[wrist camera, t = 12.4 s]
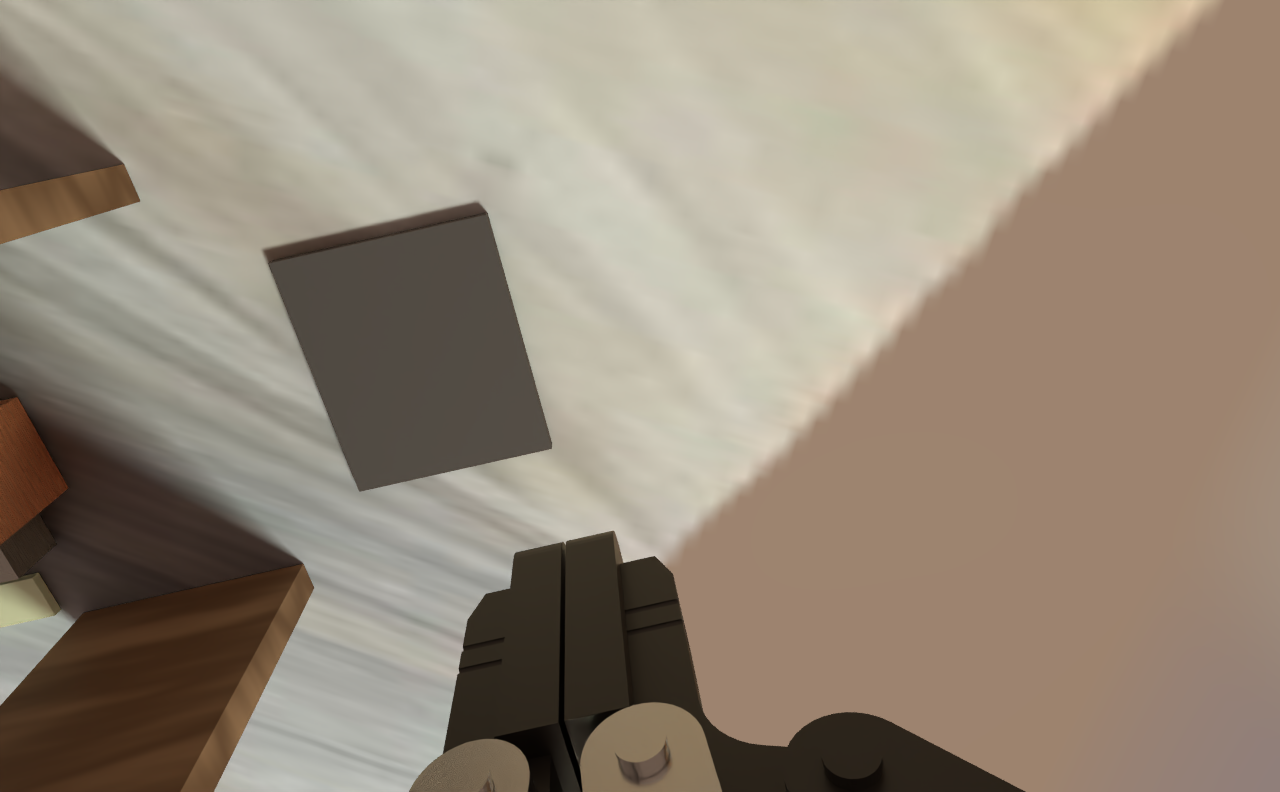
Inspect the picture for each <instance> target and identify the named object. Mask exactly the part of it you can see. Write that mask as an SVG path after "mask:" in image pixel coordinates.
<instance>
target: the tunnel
mask: <svg viewBox="0 0 1280 792" xmlns="http://www.w3.org/2000/svg"><path fill="white" fill-rule="evenodd" d="M137 202H140V199H139V197H138V195H137V192H136V190H135V188H134V186H133V183H132V181H131V179H130V177H129V175H128V172H127V170H126V168H125V166H124V164H123V165H118V166H113V167H108V168H104V169H99V170H94V171H89V172H85V173H80V174H75V175H70V176H66V177H61V178H56V179H51V180H47V181H42V182H37V183H32V184H28V185H23V186H18V187H13V188H9V189H4V190H0V244H2V243H5V242H9V241H12V240H15V239H19V238H22V237H25V236H28V235H32V234H35V233H38V232H42V231H45V230H48V229H51V228H55V227H58V226H61V225H64V224H68V223H71V222H74V221H78V220H81V219H84V218H87V217H91V216H94V215H97V214H100V213H104V212H107V211H110V210H114V209H117V208H120V207H123V206H127V205H130V204H133V203H137ZM313 589H314V586H313V584H312V582H311V580H310V578H309V575H308V573H307V571H306V569H305V566H304V564H300V565H295V566H291V567H287V568H282V569H278V570H273V571H269V572H264V573H260V574H255V575H251V576H246V577H242V578H237V579H233V580H228V581H224V582H219V583H215V584H210V585H206V586H201V587H197V588H192V589H188V590H183V591H179V592H174V593H170V594H165V595H161V596H156V597H152V598H147V599H143V600H138V601H134V602H130V603H125V604H121V605H116V606H112V607H107V608H103V609H98V610H94V611H89V612H85V613H83V614H82V615H81V616H80V617H79V619H78V620H77V621H76V622H75V623H74V624H73V625H72V626H71V627H70V629H69V630H68V631H67V632H66V633H65V634H64V635H63V636H62V638H61V639H60V640H59V641H58V642H57V643H56V644H55V645H54V646H53V648H52V649H51V650H50V651H49V652H48V653H47V654H46V655H45V657H44V658H43V659H42V660H41V661H40V662H39V663H38V664H37V665H36V667H35V668H34V669H33V670H32V671H31V672H30V673H29V674H28V675H27V677H26V678H25V679H24V680H23V681H22V682H21V683H20V684H19V686H18V687H17V688H16V689H15V690H14V691H13V692H12V693H11V694H10V696H9V697H8V698H7V699H6V700H5V701H4V702H3V703H2V705H1V706H0V792H214V790H215V788H216V786H217V784H218V782H219V780H220V778H221V776H222V774H223V772H224V770H225V768H226V766H227V764H228V762H229V760H230V758H231V756H232V754H233V751H234V749H235V747H236V745H237V743H238V741H239V739H240V737H241V735H242V733H243V731H244V729H245V727H246V725H247V723H248V721H249V719H250V717H251V715H252V713H253V711H254V709H255V707H256V705H257V703H258V701H259V699H260V697H261V695H262V693H263V691H264V689H265V687H266V685H267V683H268V681H269V679H270V676H271V674H272V672H273V670H274V668H275V666H276V664H277V662H278V660H279V658H280V656H281V654H282V652H283V650H284V648H285V646H286V644H287V642H288V640H289V638H290V636H291V634H292V632H293V630H294V628H295V626H296V624H297V622H298V620H299V618H300V616H301V614H302V612H303V610H304V608H305V606H306V603H307V601H308V599H309V597H310V595H311V593H312V591H313Z"/></svg>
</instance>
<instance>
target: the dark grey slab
mask: <svg viewBox="0 0 1280 792" xmlns="http://www.w3.org/2000/svg"><path fill="white" fill-rule="evenodd" d="M269 266H270V269H271V271H272V274H273V276H274V279H275V281H276V284H277V286H278V289H279V291H280V294H281V296H282V299H283V301H284V304H285V306H286V309H287V311H288V314H289V316H290V319H291V321H292V324H293V326H294V329H295V331H296V334H297V336H298V339H299V341H300V344H301V346H302V349H303V351H304V354H305V356H306V359H307V361H308V364H309V366H310V369H311V371H312V374H313V376H314V379H315V382H316V384H317V387H318V389H319V392H320V394H321V397H322V399H323V402H324V404H325V407H326V409H327V412H328V414H329V417H330V419H331V422H332V424H333V427H334V429H335V432H336V434H337V437H338V439H339V442H340V444H341V447H342V449H343V452H344V454H345V457H346V459H347V462H348V464H349V467H350V469H351V472H352V474H353V477H354V479H355V482H356V484H357V487H358V490H359V492H360V491H365V490H369V489H374V488H378V487H383V486H387V485H391V484H396V483H400V482H405V481H409V480H414V479H418V478H423V477H427V476H432V475H436V474H441V473H445V472H450V471H454V470H459V469H463V468H468V467H472V466H477V465H481V464H486V463H490V462H495V461H499V460H504V459H508V458H512V457H517V456H521V455H526V454H530V453H535V452H539V451H544V450H548V449H552V442H551V438H550V435H549V431H548V428H547V424H546V420H545V417H544V413H543V410H542V406H541V402H540V399H539V395H538V392H537V388H536V385H535V381H534V377H533V374H532V370H531V367H530V363H529V360H528V356H527V352H526V349H525V345H524V342H523V338H522V335H521V331H520V327H519V324H518V320H517V317H516V313H515V310H514V306H513V302H512V299H511V295H510V292H509V288H508V284H507V281H506V277H505V274H504V270H503V267H502V263H501V259H500V256H499V252H498V249H497V245H496V242H495V238H494V234H493V231H492V227H491V224H490V220H489V217H488V213H483V214H479V215H474V216H470V217H465V218H461V219H456V220H452V221H447V222H443V223H438V224H434V225H430V226H425V227H421V228H416V229H412V230H407V231H403V232H398V233H394V234H389V235H385V236H380V237H376V238H371V239H367V240H363V241H358V242H354V243H349V244H345V245H340V246H336V247H331V248H327V249H322V250H318V251H313V252H309V253H305V254H300V255H296V256H291V257H287V258H282V259H278V260H273V261H272V262H270V263H269Z"/></svg>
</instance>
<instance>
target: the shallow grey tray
mask: <svg viewBox="0 0 1280 792" xmlns="http://www.w3.org/2000/svg"><path fill="white" fill-rule="evenodd" d="M67 489H68V486H67V484H66V483H65V481H64V479H63V477H62V476H61V474H60V472H59V470H58V468H57V467H56V465H55V463H54V461H53V460H52V458H51V456H50V454H49V453H48V451H47V449H46V447H45V445H44V444H43V442H42V440H41V438H40V437H39V435H38V433H37V431H36V429H35V428H34V426H33V424H32V422H31V421H30V419H29V417H28V415H27V414H26V412H25V410H24V408H23V406H22V405H21V403H20V401H19V399H18V398H17V397H16V398H11V399H7V400H2V401H0V583H2V582H7V581H11V580H16V579H19V578H20V577H21V576H22V575H24V574H25V573H26V572H27V571H28V570H29V569H30V568H31V567H32V566H33V565H34V564H35V563H37V562H38V561H39V560H40V559H41V558H42V557H43V556H44V555H45V554H46V553H47V552H48V551H50V550H51V549H52V548H53V547H54V546H55V545H56V544H57V543H56V542H55V540H54V538H53V536H52V535H51V533H50V531H49V530H48V528H47V526H46V525H45V523H44V521H43V520H42V518H41V516H40V514H39V512H41V511H42V510H43V509H44V508H45V507H47V506H48V505H49V504H50V503H51V502H53V501H54V500H55V499H56V498H57V497H59V496H60V495H61V494H62V493H63V492H65V491H66V490H67Z"/></svg>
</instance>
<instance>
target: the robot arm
mask: <svg viewBox="0 0 1280 792" xmlns="http://www.w3.org/2000/svg"><path fill="white" fill-rule="evenodd" d="M463 649H464V651H463V652H462V654H461V659H460V664H459V674H458V675H457V681H456V686H455V691H454V697H453V702H452V708H451V713H450V718H449V724H448V729H447V735H446V740H445V745H444V751H443V754H442V755H441V756H439V757H438V758H437V759H435V760H434V761H433V762H432V763H431V764H429V765H428V766H427V767H426V769H425V770H424V771H423V772H422V773H421V774H420V775H419V777H418V778H417V779H416V780H415V782H414V784H413V785H412V787H411V789H410V791H409V792H1025V791H1023V790H1021V789H1019V788H1017V787H1015V786H1013V785H1011V784H1009V783H1008V782H1005V781H1004V780H1002V779H1000V778H998V777H996V776H994V775H992V774H990V773H988V772H986V771H984V770H982V769H980V768H978V767H977V766H975V765H973V764H971V763H969V762H967V761H965V760H963V759H961V758H959V757H957V756H955V755H953V754H951V753H950V752H948V751H945V750H943V749H942V748H940V747H938V746H936V745H934V744H932V743H930V742H928V741H926V740H924V739H923V738H920V737H919V736H917V735H915V734H913V733H911V732H909V731H907V730H905V729H903V728H901V727H899V726H897V725H895V724H894V723H892V722H889V721H887V720H885V719H883V718H880V717H877V716H873V715H869V714H864V713H854V712H853V713H851V712H845V713H836V714H831V715H828V716H824V717H821V718H819V719H816V720H814V721H812V722H811V723H809V724H808V725H806V726H804V727H803V728H802V729H801V730H800V731H799V732H797V733H796V735H795V736H794V737H793V739H792V740H791V741H790V743H789V745H788V747H781V746H766V745H757V744H749V743H746V742H742V741H739V740H736V739H734V738H732V737H729V736H727V735H726V734H724V733H722V732H721V731H719V730H718V729H717V728H716V727H715V726H713V725H712V724H711V723H710V721H709V720H708V719H707V718H706V716H705V715H704V713H703V708H702V704H701V698H700V694H699V689H698V684H697V679H696V675H695V670H694V665H693V661H692V655H691V651H690V647H689V642H688V638H687V633H686V629H685V625H684V620H683V616H682V612H681V607H680V603H679V598H678V594H677V590H676V585H675V581H674V577H673V574H672V573H671V572H670V571H669V570H668V569H667V568H666V567H665V566H664V565H663V564H662V563H661V562H660V561H659V560H658V559H657V558H656V557H655V556H653V557H648V558H644V559H639V560H635V561H630V562H626V563H623V560H622V556H621V552H620V548H619V545H618V541H617V537H616V534H615V532H614V531H610V532H605V533H601V534H596V535H592V536H587V537H583V538H578V539H574V540H569V541H567V542H566V545H565V544H564V542H561V543H557V544H552V545H548V546H543V547H539V548H534V549H530V550H525V551H521V552H516V553H515V555H514V560H513V569H512V578H511V586H510V589H506V590H501V591H497V592H492V593H488V594H485V596H484V597H483V599H482V600H481V602H480V603H479V604H478V606H477V607H476V609H475V610H474V612H473V613H472V614H471V616H470V617H469V619H468V621H467V627H466V632H465V637H464V643H463Z"/></svg>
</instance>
